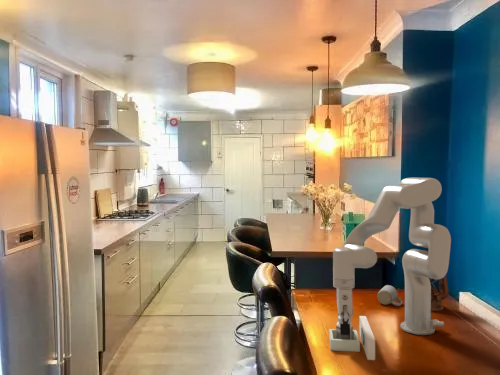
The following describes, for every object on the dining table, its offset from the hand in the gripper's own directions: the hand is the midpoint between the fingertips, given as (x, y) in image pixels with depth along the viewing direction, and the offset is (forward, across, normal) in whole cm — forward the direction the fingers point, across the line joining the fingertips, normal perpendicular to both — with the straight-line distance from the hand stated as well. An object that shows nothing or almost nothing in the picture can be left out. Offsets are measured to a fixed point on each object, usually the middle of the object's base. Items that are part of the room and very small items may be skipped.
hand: (343, 329), depth 149 cm
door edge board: (+6, 0, -8) cm, 10 cm away
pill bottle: (+5, 0, 0) cm, 5 cm away
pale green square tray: (+6, 0, 0) cm, 6 cm away
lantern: (+6, +47, -42) cm, 63 cm away
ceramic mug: (+6, +49, -26) cm, 56 cm away
